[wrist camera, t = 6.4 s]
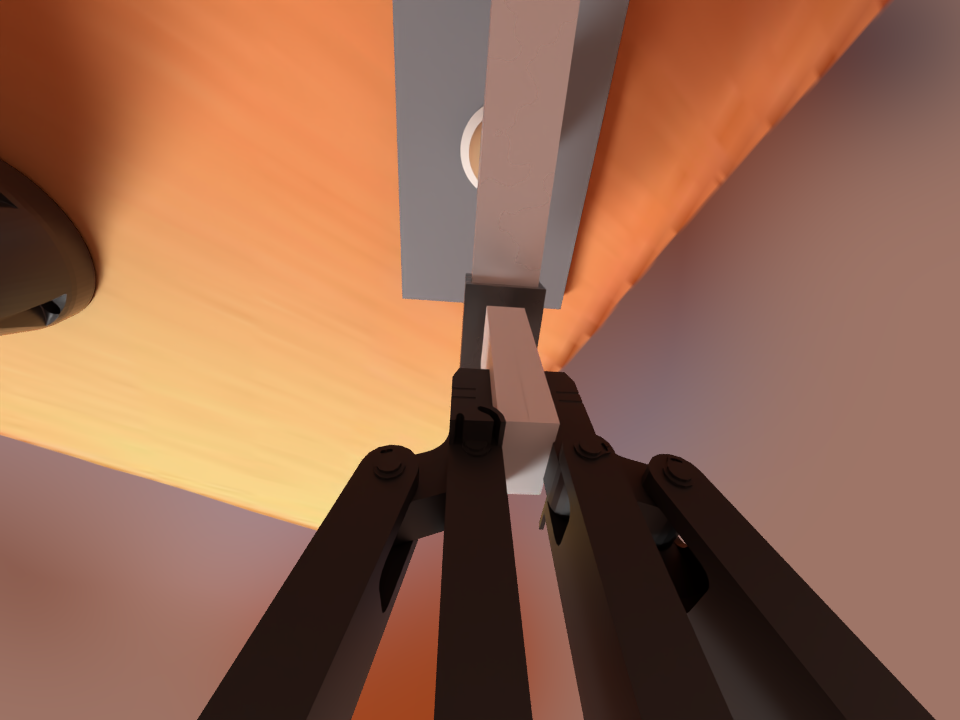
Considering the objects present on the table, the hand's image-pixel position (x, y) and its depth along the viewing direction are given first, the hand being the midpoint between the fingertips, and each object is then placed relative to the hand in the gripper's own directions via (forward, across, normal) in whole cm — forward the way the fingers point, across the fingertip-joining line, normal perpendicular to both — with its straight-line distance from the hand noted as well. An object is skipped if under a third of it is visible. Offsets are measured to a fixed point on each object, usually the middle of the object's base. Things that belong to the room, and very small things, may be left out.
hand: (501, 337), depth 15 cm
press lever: (+6, 0, +5) cm, 8 cm away
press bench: (+19, 0, +7) cm, 20 cm away
